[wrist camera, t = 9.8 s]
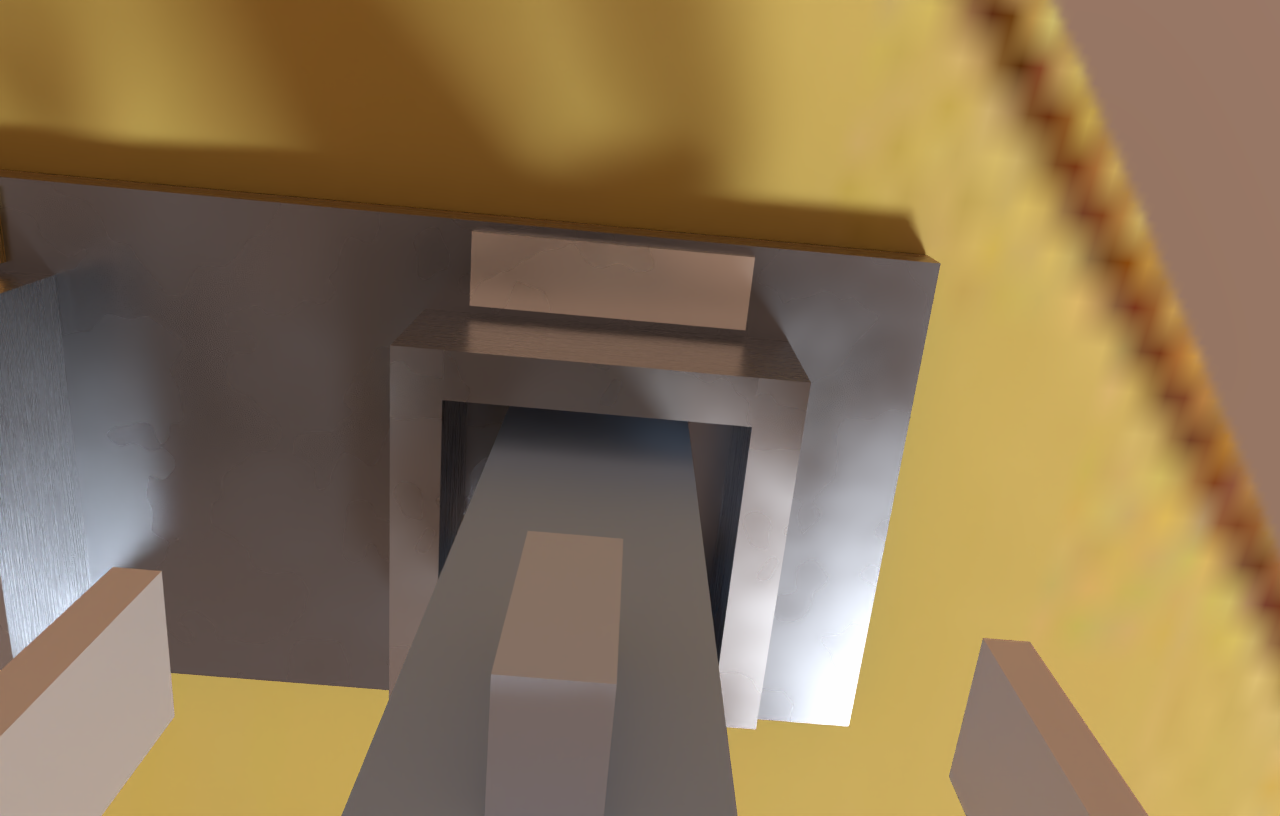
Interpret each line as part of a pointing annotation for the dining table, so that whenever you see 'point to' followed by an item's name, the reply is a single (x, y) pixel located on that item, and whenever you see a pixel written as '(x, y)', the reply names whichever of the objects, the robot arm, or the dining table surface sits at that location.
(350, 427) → the panel
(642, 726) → the plug
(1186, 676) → the dining table surface
